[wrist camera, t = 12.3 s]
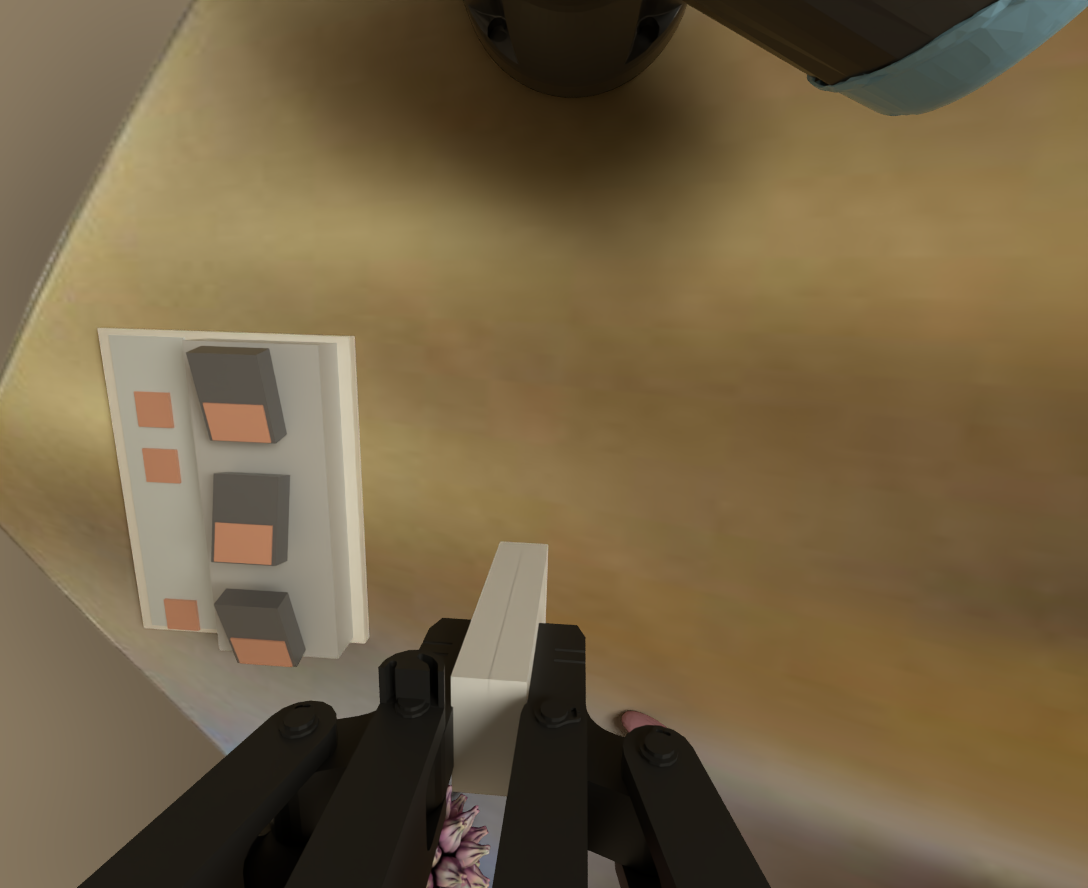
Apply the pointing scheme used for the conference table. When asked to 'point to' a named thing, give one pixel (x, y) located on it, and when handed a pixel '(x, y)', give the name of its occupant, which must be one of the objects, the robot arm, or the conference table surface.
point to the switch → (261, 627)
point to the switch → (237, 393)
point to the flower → (459, 849)
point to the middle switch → (250, 518)
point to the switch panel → (192, 459)
